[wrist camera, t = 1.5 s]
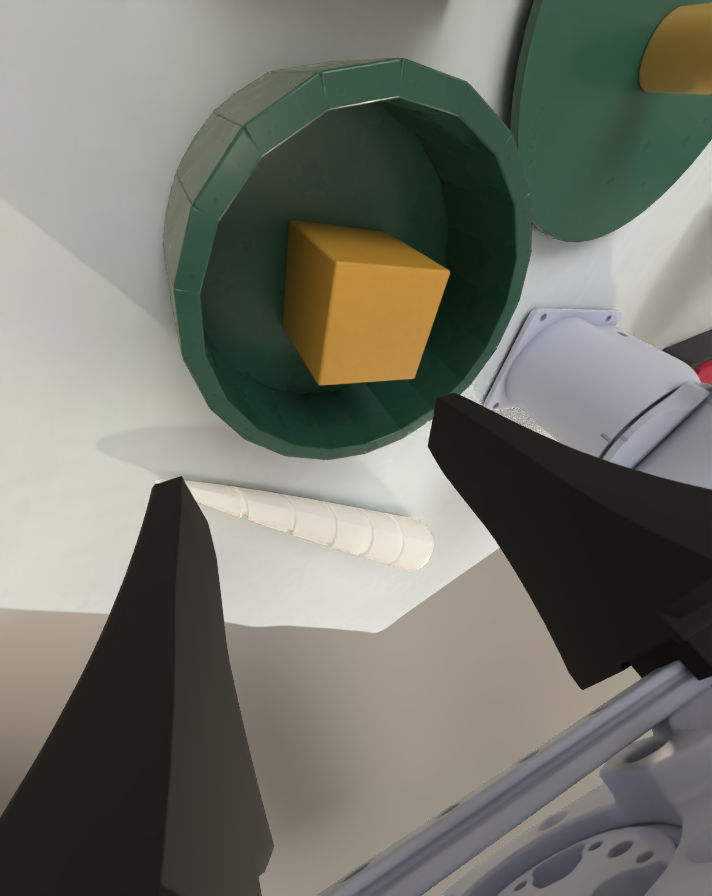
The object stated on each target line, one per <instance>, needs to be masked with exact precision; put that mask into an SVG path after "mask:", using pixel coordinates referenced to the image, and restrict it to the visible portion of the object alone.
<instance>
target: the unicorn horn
mask: <svg viewBox="0 0 712 896" xmlns="http://www.w3.org/2000/svg"><path fill="white" fill-rule="evenodd" d="M164 481H168V480H163V479H162V480H157V481H154V482H155V483H156V484H158V483H161V482H164ZM185 483H186V485H187V487H188V488H189V490H190V492H191V494H192V495H193V497H194V499H195V500H196V502H198V503H201V504H203V505H206V506H209V507H212V508H215V509H217V510H220V511H223V512H226V513H229V514H232V515H235V516H238V517H242V515H247V516H248V520H249V521H252V522H255V523H258V524H261V525H264V526H267V527H270V528H273V529H276V530H279V531H282V532H286V531H287V530H291V535H294V536H297V537H301V538H304V539H307V540H310V541H313V542H316V543H319V544H322V545H326V544H327V545H328V546H329V547H332V548H335V549H338V550H341V551H345V552H348V553H351V554H354V555H358V556H361V557H364V558H367V559H371V560H374V561H377V562H380V563H383V564H387V565H390V566H393V567H396V568H399V569H402V570H405V571H409V572H412V571H415V570H419V569H420V568H421V567H423V566H424V565H425V564H426V563H427V561H428V560H429V558H430V556H431V554H432V551H433V545H434V541H433V537H432V533H431V531H430V530H429V528H428V527H427V525H426V524H424V523H423V522H422V521H420V520H418V519H415V518H410V517H404V516H398V515H393V514H388V513H383V512H378V511H372V510H367V509H362V508H357V507H351V506H346V505H341V504H335V503H330V502H325V501H319V500H314V499H308V498H302V497H297V496H291V495H285V494H279V493H273V492H267V491H260V490H254V489H247V488H241V487H234V486H226V485H220V484H212V483H204V482H195V481H185Z"/></svg>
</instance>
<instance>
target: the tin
mask: <svg viewBox="0 0 712 896" xmlns="http://www.w3.org/2000/svg"><path fill="white" fill-rule="evenodd" d="M530 191H531V189H530V186H529V183H528V180H527V177H526V174H525V171H524V167H523V164H522V161H521V158H520V155H519V152H518V149H517V146H516V143H515V139H514V136H513V135H512V134H511V131H510V129H509V128H508V127H507V126H506V125H505V124H504V122H503V121H502V120H501V119H500V118H499V117H498V116H497V114H496V113H495V112H494V111H493V110H492V109H491V108H490V106H489V105H488V104H487V103H486V102H485V101H484V99H483V98H482V97H481V96H480V95H479V94H478V93H477V91H476V90H475V89H474V88H473V87H472V86H471V85H470V84H469V83H468V82H467V81H464V80H461V79H459V78H456V77H453V76H451V75H448V74H445V73H443V72H440V71H437V70H434V69H432V68H429V67H426V66H424V65H421V64H418V63H416V62H413V61H410V60H408V59H405V58H383V59H365V60H347V61H331V62H324V63H318V64H312V65H305V66H299V67H293V68H287V69H281V70H274V71H271V72H270V73H266V74H265V75H264V76H262V77H261V78H259V79H257V80H255V81H254V82H252V83H251V84H249V85H247V86H246V87H244V88H243V89H241V90H239V91H238V92H236V93H235V94H233V95H232V96H231V97H230V98H229V99H228V100H227V101H226V102H225V103H223V104H222V105H221V106H220V107H219V108H217V109H216V110H215V111H214V113H213V114H211V116H210V117H209V119H208V120H207V121H206V123H205V124H204V125H203V126H202V128H201V129H200V130H199V132H198V133H197V134H196V135H195V137H194V139H193V141H192V142H191V144H190V146H189V148H188V150H187V152H186V153H185V155H184V157H183V159H182V161H181V163H180V166H179V168H178V170H177V174H175V177H174V182H173V185H172V188H171V192H170V197H169V202H168V207H167V212H166V220H165V229H164V234H163V248H164V255H165V262H166V270H167V276H168V283H169V290H170V298H171V303H172V308H173V313H174V318H175V323H176V328H177V333H178V339H179V344H180V349H181V354H182V356H183V360H184V362H185V364H186V366H187V367H188V369H189V371H190V373H191V375H192V377H193V379H194V380H195V382H196V384H197V386H198V388H199V390H200V392H201V393H202V395H203V397H204V399H205V401H206V403H207V405H208V406H209V407H210V409H211V410H212V411H213V412H214V413H215V414H217V415H218V416H219V417H220V418H221V419H222V420H223V421H225V422H226V423H227V424H228V425H229V426H230V427H231V428H233V429H234V430H235V431H236V432H237V433H238V434H239V435H240V436H242V437H243V438H244V439H245V440H248V441H250V442H252V443H255V444H257V445H259V446H262V447H264V448H267V449H269V450H272V451H274V452H277V453H279V454H282V455H284V456H289V457H300V458H311V459H322V460H331V459H337V458H343V457H349V456H355V455H361V454H365V453H368V452H371V451H373V450H376V449H378V448H381V447H383V446H386V445H388V444H391V443H393V442H396V441H398V440H400V439H402V438H404V437H406V436H407V435H409V434H410V433H412V432H414V431H415V430H417V429H418V428H420V427H421V426H423V425H424V424H426V423H427V422H429V421H430V420H432V419H433V415H434V409H435V404H436V398H438V397H441V396H444V395H448V394H451V393H456V394H459V395H460V394H461V393H462V392H463V391H465V390H466V389H467V388H468V387H469V385H471V383H472V382H473V380H474V379H475V378H476V376H477V375H478V374H479V372H480V371H481V370H482V368H483V367H484V365H485V364H486V363H487V361H488V360H489V359H490V357H491V356H492V354H493V353H494V352H495V350H496V349H497V346H498V345H499V343H500V340H501V338H502V336H503V334H504V332H505V330H506V328H507V326H508V324H509V322H510V320H511V317H512V315H513V313H514V311H515V309H516V307H517V305H518V302H519V300H520V296H521V292H522V288H523V284H524V280H525V276H526V272H527V268H528V264H529V260H530V256H531V251H532V250H531V193H530ZM290 220H300V221H307V222H315V223H323V224H331V225H339V226H346V227H354V228H362V229H370V230H377V231H385V232H387V233H389V234H390V235H392V236H394V237H395V238H397V239H399V240H400V241H402V242H404V243H405V244H407V245H408V246H410V247H412V248H413V249H415V250H417V251H418V252H420V253H422V254H423V255H425V256H426V257H428V258H430V259H431V260H433V261H435V262H436V263H438V264H439V265H441V266H443V267H444V268H446V269H448V270H449V271H450V275H449V278H448V281H447V283H446V286H445V289H444V292H443V295H442V298H441V301H440V304H439V307H438V310H437V313H436V316H435V319H434V322H433V325H432V328H431V331H430V334H429V337H428V340H427V343H426V346H425V349H424V352H423V355H422V358H421V360H420V363H419V366H418V369H417V372H416V375H415V378H414V379H403V380H389V381H376V382H362V383H348V384H334V385H318V383H317V382H316V380H315V379H314V377H313V375H312V374H311V372H310V370H309V369H308V367H307V366H306V364H305V362H304V361H303V359H302V357H301V356H300V354H299V353H298V351H297V349H296V348H295V346H294V344H293V343H292V341H291V340H290V338H289V336H288V335H287V333H286V331H285V330H284V328H283V313H284V296H285V280H286V263H287V247H288V230H289V221H290Z"/></svg>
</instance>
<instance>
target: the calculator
mask: <svg viewBox="0 0 712 896" xmlns="http://www.w3.org/2000/svg"><path fill="white" fill-rule="evenodd" d="M663 351H664V352H665V353H667V354H669V355H671V356H673V357H675V358H677V359H679V360H681V361H683V362H684V363H686V364H687V365H689V366H690V367H691V368H692V369H693V370H694V371H695V373H696V374H697V375H698V377H699V379H700V381H701V383H707V384H710V383H711V382H712V330H710V331H708V332H705V333H703V334H700V335H698V336H695V337H693V338H690V339H688V340H686V341H683V342H681V343H678V344H676V345H673V346H671V347H669V348H666V349H664V350H663Z"/></svg>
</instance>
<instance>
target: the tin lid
mask: <svg viewBox="0 0 712 896" xmlns="http://www.w3.org/2000/svg"><path fill="white" fill-rule="evenodd" d="M510 131H511V134H512V135H513V136H514V139H515V143H516V146H517V149H518V152H519V155H520V158H521V161H522V164H523V167H524V171H525V174H526V177H527V180H528V183H529V186H530V189H531V191H530V193H531V222H532V223H533V224H534V225H535V226H536V227H537V228H538V229H539V230H540V231H542V232H543V233H545V234H547V235H548V236H550V237H553V238H555V239H559V240H562V241H566V242H582V241H588V240H592V239H595V238H598V237H601V236H604V235H606V234H608V233H611V232H613V231H615V230H617V229H619V228H620V227H622V226H623V225H625V224H627V223H628V222H630V221H631V220H633V219H634V218H635V217H637V216H638V215H639V214H641V213H642V212H643V211H645V210H646V209H647V208H648V207H650V206H651V205H652V204H653V203H654V202H655V201H656V200H658V199H659V198H660V197H661V196H662V195H663V194H664V193H665V192H666V191H667V190H668V189H669V188H670V187H671V186H672V185H673V184H674V183H675V182H676V181H677V180H678V179H679V178H680V177H681V175H682V174H683V173H684V172H685V171H686V170H687V169H688V168H689V167H690V165H691V164H692V163H693V162H694V161H695V160H696V158H697V157H698V156H699V155H700V153H701V152H702V151H703V150H704V148H705V147H706V146H707V145H708V143H709V142H710V141H711V139H712V0H534V2H533V5H532V8H531V12H530V15H529V19H528V22H527V25H526V29H525V34H524V38H523V43H522V47H521V52H520V56H519V60H518V65H517V72H516V78H515V85H514V91H513V98H512V110H511V123H510Z"/></svg>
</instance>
